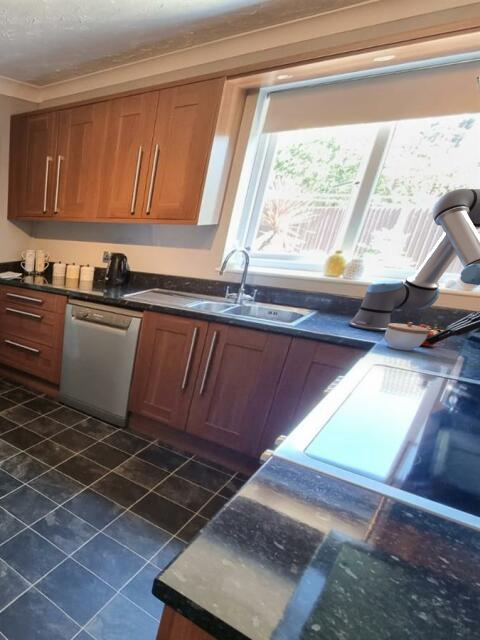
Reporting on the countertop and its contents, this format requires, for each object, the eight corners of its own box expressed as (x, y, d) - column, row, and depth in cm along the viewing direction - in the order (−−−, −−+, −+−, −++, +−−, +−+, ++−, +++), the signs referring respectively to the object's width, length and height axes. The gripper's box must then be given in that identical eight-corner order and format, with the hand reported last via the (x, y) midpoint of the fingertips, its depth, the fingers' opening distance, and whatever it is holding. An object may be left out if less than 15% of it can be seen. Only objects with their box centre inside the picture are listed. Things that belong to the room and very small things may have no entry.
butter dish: (434, 349, 178) (444, 329, 175) (397, 343, 185) (405, 324, 182) (432, 344, 186) (441, 325, 182) (396, 338, 193) (404, 320, 190)
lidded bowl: (424, 354, 169) (436, 327, 165) (382, 348, 175) (393, 322, 171) (416, 347, 179) (428, 322, 175) (377, 342, 185) (387, 317, 181)
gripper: (524, 317, 153) (440, 353, 166) (505, 311, 163) (427, 345, 177) (510, 301, 153) (428, 338, 167) (492, 296, 164) (416, 331, 177)
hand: (428, 341), depth 172 cm, fingers closed
